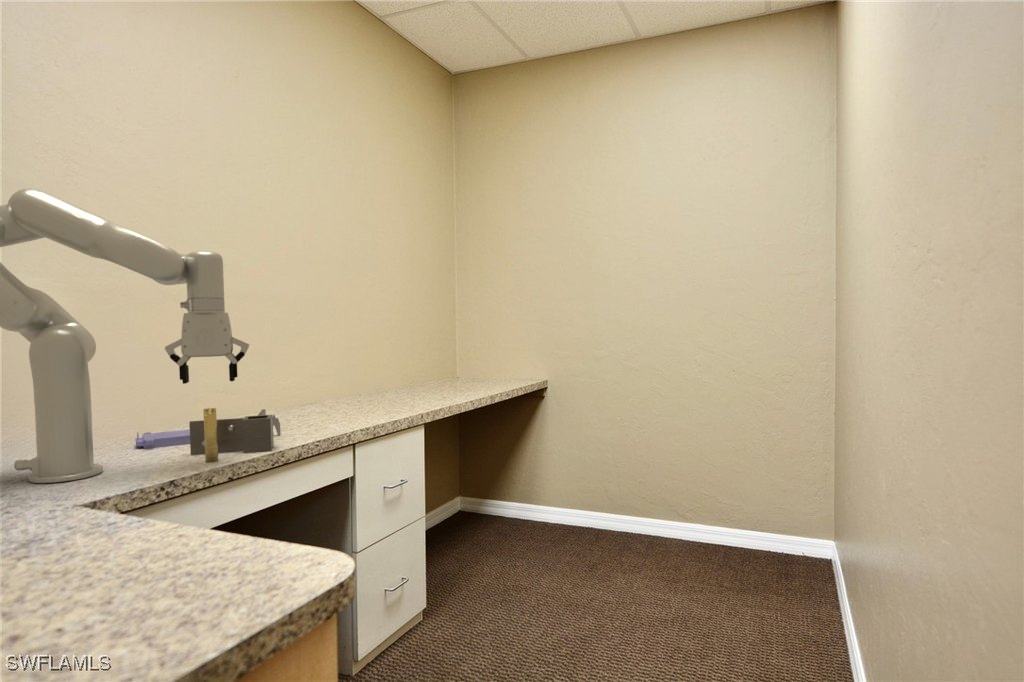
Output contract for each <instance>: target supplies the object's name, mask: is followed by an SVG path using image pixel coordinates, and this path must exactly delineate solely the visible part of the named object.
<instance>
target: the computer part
mask: <svg viewBox="0 0 1024 682" xmlns="http://www.w3.org/2000/svg"><path fill="white" fill-rule="evenodd" d="M189 428H190V423H189ZM134 441H135V446H136V447H143V450H148V449H149V450H150V449H157V448H165V447H167V448H168V447H173V446H174V447H175V446H185V445H190V429H183V430H172V431H171V430H170V431H161V432H151V431H150V432H144V433H142V434H141V437H140V436H139V432H136V438H135V440H134Z"/></svg>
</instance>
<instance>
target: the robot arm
mask: <svg viewBox="0 0 1024 682" xmlns="http://www.w3.org/2000/svg"><path fill="white" fill-rule="evenodd" d="M7 201H8V202H7V204H1V205H0V248H4V247H9V246H13V245H17V244H23V243H27V242H32V241H36V240H40V239H44V238H45V239H48V240H50V241H53V242H55V243H58V244H60V245H63V246H65V247H68V248H70V249H72V250H75V251H77V252H80V253H82V254H83V255H87V256H89V257H91V258H93V259H94V258H96V259H100V260H105V261H108V262H110V263H113V264H116V265H119V266H121V267H123V268H126V269H128V270H130V271H133V272H135V273H138V274H139V275H142V276H145V277H147V278H149V279H151V280H153V281H155V282H156V283H157V284H160V285H164V286H174V285H182V284H183V285H184V284H186V295H187V297H186V300H185V301H181V302H180V303H179V305H180V308H181V309H186V310H187V313H183V316H182V321H181V338H179V339H177V340H176V341H174V342H171V343H170V344H168V345H166V346H164V350H165V352H166V354H167V355H168V356H169V358H170V359H171V360H172V361H173V362H174V363H175V364H176V365H177V366H178V367H179V370H178V371H179V380H180V381H182V384H185V385H186V384H188V383H190V373H189V369H190V367H189V365H188V363H187V362H188V361H189V360H190V359H191V358H204V357H205V358H207V357H210V358H211V357H225V358H226V359H228V361H229V362H230V363H229V364H228V376H229V377H228V378H229V381H230V382H234V381H235V380H236V379H235V378H238V363H239V362H240V360H241V359H243V358H244V357H245V356H246V354H247V352H248V350H249V347H250V344H249V343H247V342H245V341H243V340H241V339H238V338H235V337H233V333H232V326H231V320H230V316H229V313H228V312H226V309H225V308H226V307H225V283H224V279H225V277H224V261H223V260H224V259H223V256H222V255H221V254H219V253H218V252H214V251H213V252H212V251H192V252H189V253H188V254H183V253H179V252H177V251H176V250H174V249H172V248H170V247H169V246H166V245H165V244H162V243H160V242H157V241H155V240H153V239H151V238H148V237H146V236H144V235H141V234H139V233H137V232H134V231H132V230H130V229H128V228H125V227H123V226H120V225H119V224H117V223H115V222H113V221H110V220H109V219H107V218H104V217H102V216H100V215H97V214H95V213H93V212H90V211H88V210H85V209H83V208H81V207H78V206H77V205H75V204H72V203H70V202H68V201H65V200H64V199H61V198H60V197H59V198H58V197H57V196H54V195H52V194H50V193H48V192H45V191H43V190H40V189H35V188H23V189H19V190H17V191H15V192H14V193H13V194H12V195H11V196H10V197H9V199H8V200H7ZM0 328H2V329H4V330H5V331H9V332H14V333H18V334H20V335H21V336H22V337H23V338H24V339H26V340H27V341H28V342H29V343H30V344H29V349H28V360H29V366H30V372H31V377H32V385H33V386H32V387H33V400H34V402H33V403H34V417H35V419H34V420H35V438H36V439H35V440H36V442H35V443H36V456H35V457H32V458H31V459H20V460H19V459H18V460H15V461H14V466H13V467H14V469H15V470H16V471H27V470H29V471H31V473H29V474H28V476H27V478H28V482H30V483H33V484H47V483H48V484H51V483H62V482H68V481H69V482H71V481H74V480H75V481H77V480H81V479H86V478H90V477H93V476H96V475H99V474H101V473H102V472H103V471H104V466H103V465H102V464H100V463H99V464H98V463H94V462H95V461H94V439H93V417H92V398H91V396H92V395H91V394H92V393H91V380H90V372H89V362H90V361H92V359H93V358H94V356H95V354H96V351H97V343H96V340H95V338H94V336H93V335H92V333H90V331H89V330H87V328H85V326H83V325H82V324H81V323H80V322H79V321H78V320H77V319H76V318H75V317H74V316H72V314H70V313H69V312H68V311H67V309H65V308H63V306H62V305H60V304H59V303H58V302H57V301H56V300H55V299H54V298H52V297H51V295H48V294H47V293H45V292H44V291H42V290H40V289H36V288H34V287H30V286H28V285H26V284H25V283H23V282H22V281H21V280H20V279H19V278H18V277H17V276H15V275H14V274H13V273H12V272H11V271H10V270H9V269H8V268H7V267H6V266H5V265H4V264H3V263H2V262H0ZM234 345H236V346H237V347H238V346H239V347H240V350H239V352H238V353H237V354H236V355H235V354H234V353H233V350H234ZM179 347H180V348H181V350H180V351H181V355H182V356H181V357H180V356H179V355H178V354H177V353H176V351H175V349H176V348H179Z"/></svg>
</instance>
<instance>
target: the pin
mask: <svg viewBox="0 0 1024 682" xmlns="http://www.w3.org/2000/svg"><path fill="white" fill-rule="evenodd" d="M202 411H203V420H204V437H205V454H204V458H205V463H215V462H218V461H219V453H218V445H217V420H218V419H217V408H216V407H208V408H203V410H202Z"/></svg>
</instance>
